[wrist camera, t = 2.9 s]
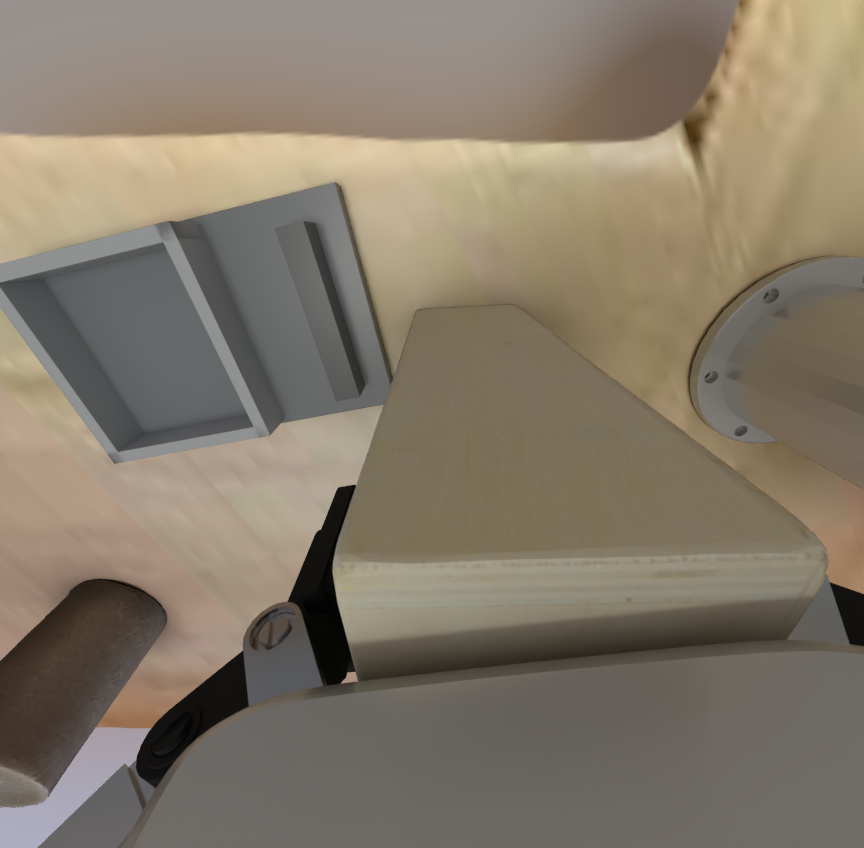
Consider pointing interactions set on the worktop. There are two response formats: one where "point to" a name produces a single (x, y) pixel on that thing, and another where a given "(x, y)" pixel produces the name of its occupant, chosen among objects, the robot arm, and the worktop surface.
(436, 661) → the beige tall block
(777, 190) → the worktop surface
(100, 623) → the pillar candle
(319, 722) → the robot arm
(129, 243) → the tray
